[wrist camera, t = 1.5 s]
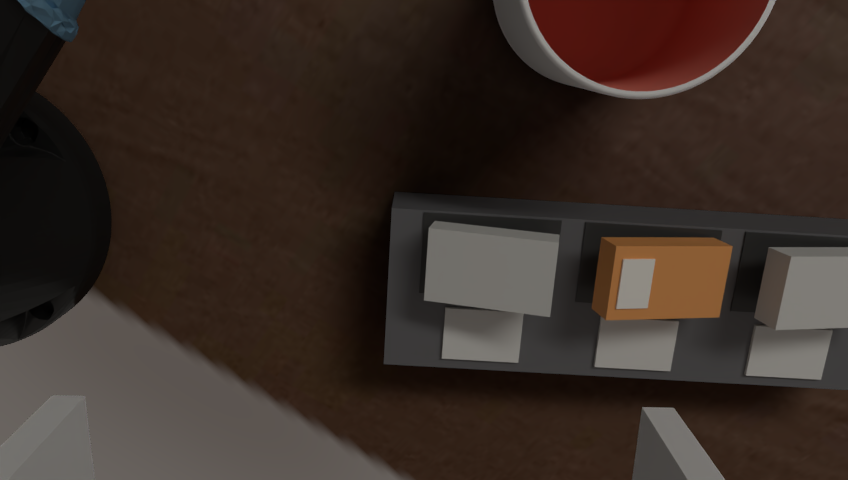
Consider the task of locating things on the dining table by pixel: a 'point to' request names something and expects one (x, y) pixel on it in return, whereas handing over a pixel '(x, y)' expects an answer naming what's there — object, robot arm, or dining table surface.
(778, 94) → the dining table surface
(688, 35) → the cup
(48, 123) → the robot arm
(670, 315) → the block
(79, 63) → the dining table surface
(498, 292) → the block
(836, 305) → the rocker
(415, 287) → the switch panel
